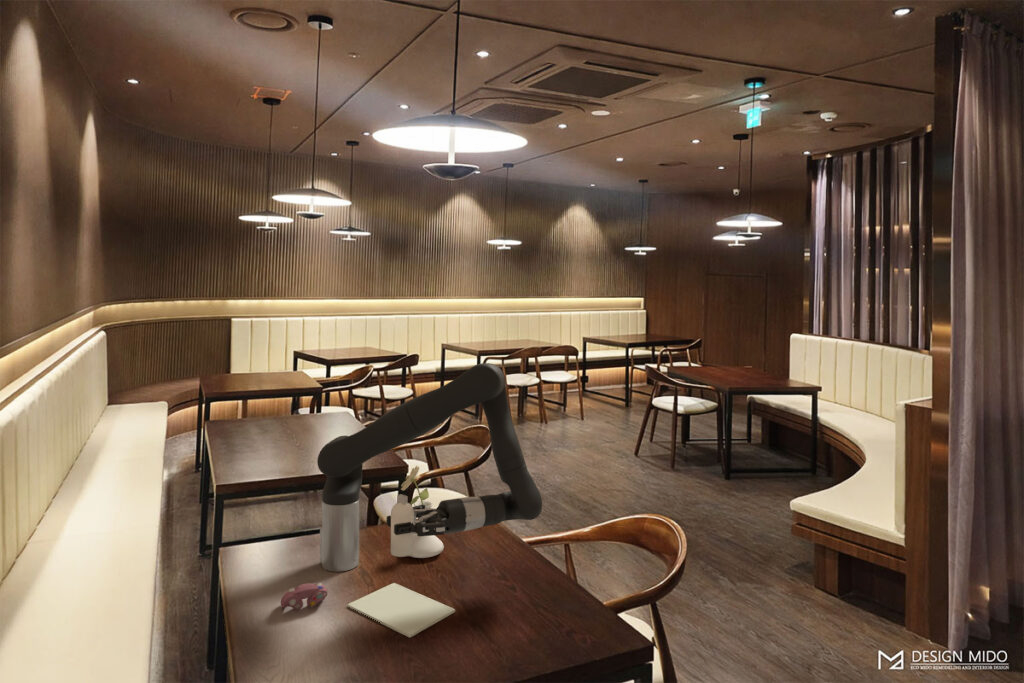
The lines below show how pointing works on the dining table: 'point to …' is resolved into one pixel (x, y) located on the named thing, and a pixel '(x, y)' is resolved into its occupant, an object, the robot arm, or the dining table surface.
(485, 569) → the dining table surface
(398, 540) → the bottle with rectangular cap
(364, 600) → the cream flat board
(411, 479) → the flower in vase
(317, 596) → the video game controller
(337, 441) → the robot arm
